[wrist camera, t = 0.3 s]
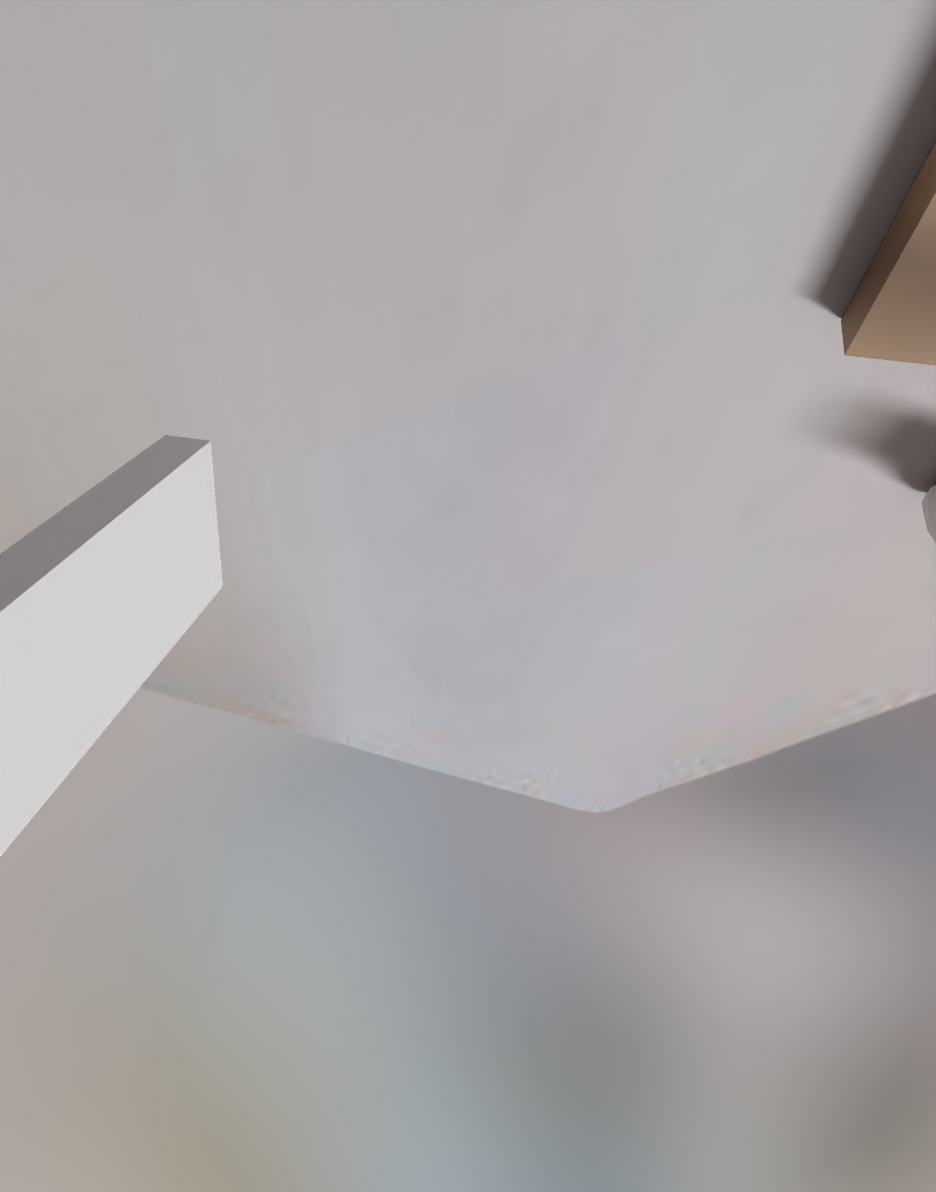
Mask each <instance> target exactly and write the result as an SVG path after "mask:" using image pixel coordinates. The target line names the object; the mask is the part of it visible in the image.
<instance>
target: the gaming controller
mask: <svg viewBox="0 0 936 1192" xmlns="http://www.w3.org/2000/svg"><path fill="white" fill-rule="evenodd" d="M922 506H923V512H924V517H925V521H926V526H927V530H928V532H929V533H930V535H931V536H932V538H933V539H934V541H935V542H936V484H935V485H934V486H932V487H931V488H930V489H929V491H928V493H927V494H926V496H925V498H924V499H923V501H922Z"/></svg>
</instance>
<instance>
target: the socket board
mask: <svg viewBox="0 0 936 1192" xmlns="http://www.w3.org/2000/svg"><path fill="white" fill-rule="evenodd" d="M841 324H842V334H843V344H844V354H845V355H847V356H856V357H865V358H874V359H884V360H893V361H902V362H911V363H920V364H929V365H936V142H935V143H934V145H933V147H932V149H931V151H930V153H929V155H928V157H927V159H926V160H925V162H924V164H923V166H922V168H921V170H920V172H919V174H918V176H917V177H916V179H915V181H914V183H913V185H912V187H911V189H910V191H909V193H908V194H907V196H906V198H905V200H904V202H903V204H902V206H901V208H900V210H899V211H898V213H897V215H896V217H895V219H894V221H893V223H892V225H891V227H890V229H889V230H888V232H887V234H886V236H885V238H884V240H883V242H882V244H881V246H880V247H879V249H878V251H877V253H876V255H875V257H874V259H873V261H872V263H871V264H870V266H869V268H868V270H867V272H866V274H865V276H864V278H863V280H862V281H861V283H860V285H859V287H858V289H857V291H856V293H855V295H854V297H853V298H852V300H851V302H850V304H849V306H848V308H847V310H846V312H845V314H844V316H843V317H842V319H841Z"/></svg>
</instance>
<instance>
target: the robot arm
mask: <svg viewBox="0 0 936 1192" xmlns="http://www.w3.org/2000/svg"><path fill="white" fill-rule="evenodd" d="M222 587H223V583H222V571H221V560H220V548H219V536H218V524H217V512H216V501H215V489H214V477H213V465H212V453H211V441H207V440H199V439H192V438H184V437H177V436H169V435H165V436H164V437H162V438H161V439H160V440H158V441H157V442H155V443H154V444H153V445H151V446H150V447H148V448H147V449H146V450H144V451H143V452H142V453H140V454H139V455H137V456H136V457H135V458H133V459H132V460H130V461H129V462H128V463H126V464H125V465H123V466H122V467H121V468H119V469H118V470H116V471H115V472H114V473H112V474H111V475H110V476H108V477H107V478H105V479H104V480H103V481H101V482H100V483H98V484H97V485H96V486H94V487H93V488H91V489H90V490H89V491H87V492H86V493H84V494H83V495H82V496H80V497H79V498H78V499H76V500H75V501H73V502H72V503H71V504H69V505H68V506H66V507H65V508H64V509H62V510H61V511H59V512H58V513H57V514H55V515H54V516H53V517H51V518H50V519H48V520H47V521H46V522H44V523H43V524H41V525H40V526H39V527H37V528H36V529H34V530H33V531H32V532H30V533H29V534H28V535H26V536H25V537H23V538H22V539H21V540H19V541H18V542H16V543H15V544H14V545H12V546H11V547H9V548H8V549H7V550H5V551H4V552H2V553H1V554H0V856H1V855H2V854H3V853H4V852H5V850H6V849H7V848H8V847H9V846H10V844H11V843H12V842H13V841H14V839H15V838H16V837H17V836H18V835H19V833H20V832H21V831H22V830H23V828H24V827H25V826H26V825H27V824H28V822H29V821H30V820H31V819H32V817H33V816H34V815H35V814H36V813H37V811H38V810H39V809H40V808H41V807H42V805H43V804H44V803H45V802H46V801H47V799H48V798H49V797H50V796H51V794H52V793H53V792H54V791H55V790H56V788H57V787H58V786H59V785H60V784H61V782H62V781H63V780H64V779H65V777H66V776H67V775H68V774H69V773H70V771H71V770H72V769H73V767H74V766H75V765H76V764H77V763H78V762H79V760H80V759H81V758H82V757H83V756H84V754H85V753H86V752H87V751H88V749H89V748H90V747H91V746H92V744H93V743H94V742H95V741H96V740H97V738H98V737H99V736H100V735H101V734H102V732H103V731H104V730H105V729H106V728H107V726H108V725H109V724H110V723H111V721H112V720H113V719H114V718H115V717H116V715H117V714H118V713H119V712H120V711H121V709H122V708H123V707H124V706H125V704H126V703H127V702H128V701H129V700H130V698H131V697H132V696H133V695H134V693H135V692H136V691H137V690H138V689H139V687H140V686H141V685H142V684H143V683H144V681H145V680H146V679H147V678H148V677H149V675H150V674H151V673H152V672H153V670H154V669H155V668H156V667H157V666H158V664H159V663H160V662H161V661H162V660H163V658H164V657H165V656H166V655H167V653H168V652H169V651H170V650H171V649H172V647H173V646H174V645H175V644H176V643H177V641H178V640H179V639H180V638H181V636H182V635H183V634H184V633H185V632H186V630H187V629H188V628H189V627H190V625H191V624H192V623H193V622H194V621H195V619H196V618H197V617H198V616H199V615H200V613H201V612H202V611H203V610H204V608H205V607H206V606H207V605H208V604H209V602H210V601H211V600H212V599H213V598H214V596H215V595H216V594H217V593H218V591H219V590H220V589H221V588H222Z"/></svg>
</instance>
